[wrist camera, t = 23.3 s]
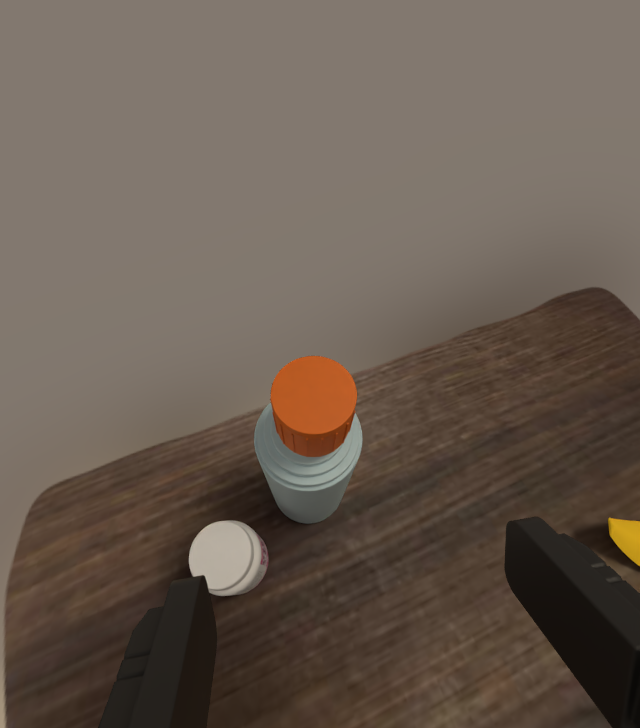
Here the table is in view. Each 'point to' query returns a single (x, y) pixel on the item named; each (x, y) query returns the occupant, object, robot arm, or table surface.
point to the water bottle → (305, 472)
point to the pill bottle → (229, 557)
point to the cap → (313, 405)
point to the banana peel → (626, 537)
